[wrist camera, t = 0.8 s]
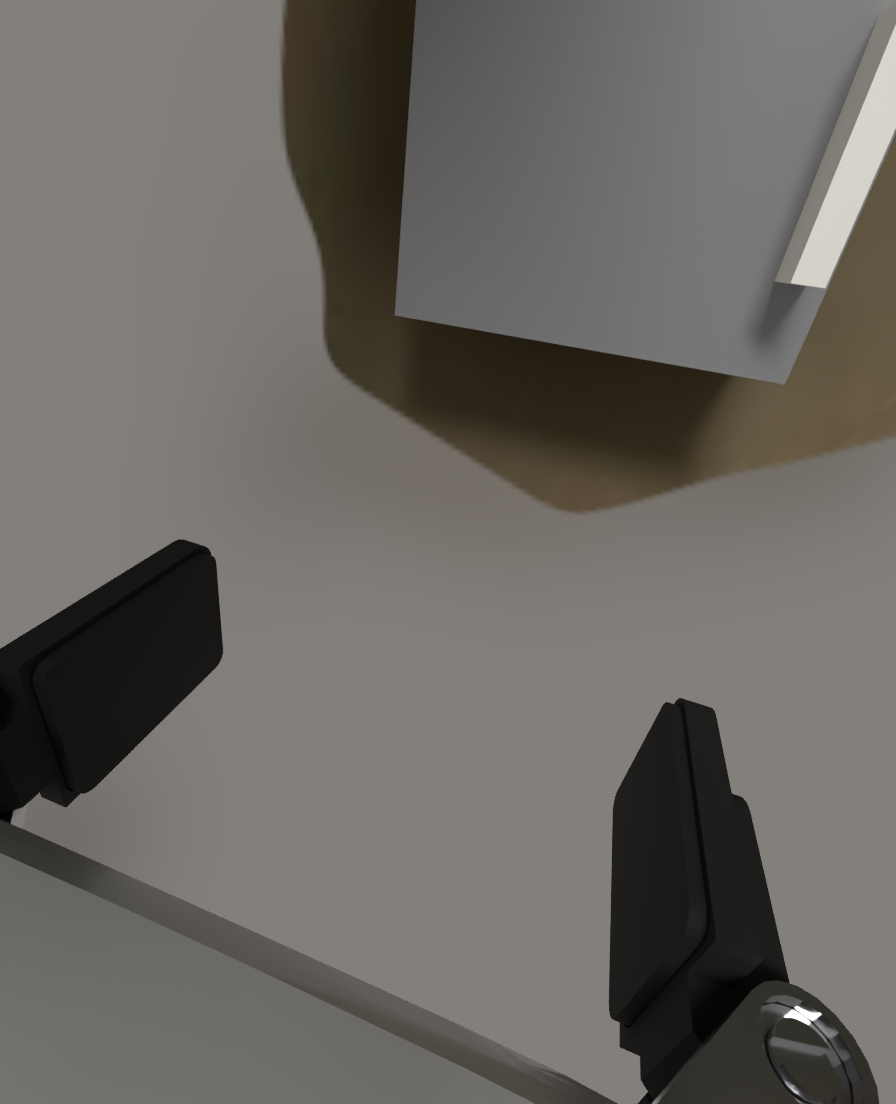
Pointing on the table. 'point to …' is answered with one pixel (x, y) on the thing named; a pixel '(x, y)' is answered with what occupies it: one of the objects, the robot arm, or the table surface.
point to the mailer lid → (642, 170)
